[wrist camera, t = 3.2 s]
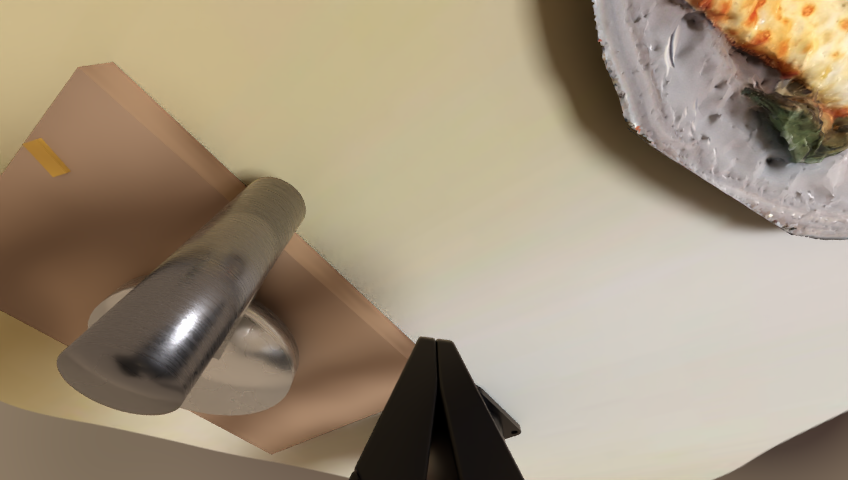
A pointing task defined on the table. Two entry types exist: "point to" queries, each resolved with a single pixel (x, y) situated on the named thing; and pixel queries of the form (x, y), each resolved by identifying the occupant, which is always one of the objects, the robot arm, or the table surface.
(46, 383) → the table surface
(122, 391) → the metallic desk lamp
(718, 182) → the food plate
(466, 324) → the table surface
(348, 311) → the stand base
